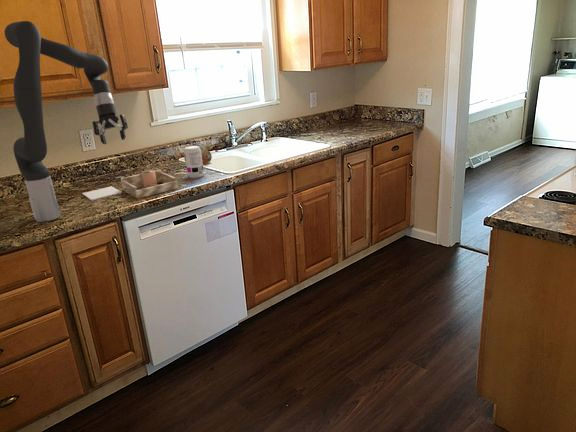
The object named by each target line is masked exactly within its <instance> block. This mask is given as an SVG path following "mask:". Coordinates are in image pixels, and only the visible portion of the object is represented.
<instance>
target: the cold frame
mask: <svg viewBox="0 0 576 432" xmlns="http://www.w3.org/2000/svg"><path fill="white" fill-rule="evenodd" d="M155 175H156V181H157V185H156V186H152V187H148V188H144V183H143V178H142V173H139V174H134V175H130V176H125V177H121V178H120V181H121V185H122V191H123V192H125V193H127V194H128V195H131V196H132V197H134V198H136V199H137V200H138V199H141V198H145V196H146V197H149V196H154V195H156V194H160V193H161V194H162V193H164V192H168V191H173V190H176V189H179V186H178V184H179V183H178V181H177V178H176V176H173V175H170V174H168V173H166V172H163V171H162V169H156V170H155ZM158 183H162V184H158ZM142 187H143V188H142ZM138 188H141V189H138Z"/></svg>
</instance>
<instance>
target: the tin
mask: <svg viewBox="0 0 576 432" xmlns="http://www.w3.org/2000/svg"><path fill="white" fill-rule="evenodd" d="M200 149H201V148H200ZM201 155H202V162H203V165H207V164H209V163H210V162H211V161H212V157H213V156H212V153H211V151H209V150H208V149H205V148H202V149H201ZM184 161H185V163H186V160H185V159H184Z"/></svg>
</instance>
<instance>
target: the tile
mask: <svg viewBox="0 0 576 432" xmlns="http://www.w3.org/2000/svg"><path fill="white" fill-rule="evenodd" d="M120 194H123V193H122V191H121V190H119V189H117V188H116V187H114V186H108V187H102V188H99V189H95V190H90V191H85V192H82V196H84V197H86V198H87V199H88V200H90V201H91V202H93V201H96V200H100V199H104V198H108V197H113V196H116V195H117V196H118V195H120ZM112 195H113V196H112Z"/></svg>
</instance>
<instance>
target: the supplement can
mask: <svg viewBox="0 0 576 432" xmlns="http://www.w3.org/2000/svg"><path fill="white" fill-rule="evenodd" d="M183 152H184V161H185V160H186V162H185V165H186V166H185V167H186V172H187V176H188V177H189V178H190V179H196V178H201V177H203V176H204V175H205V172H204V169H205V168H204V164H203V162H202V155H201V148H200V146H199V145H189V146H186V147H184V151H183Z"/></svg>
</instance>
